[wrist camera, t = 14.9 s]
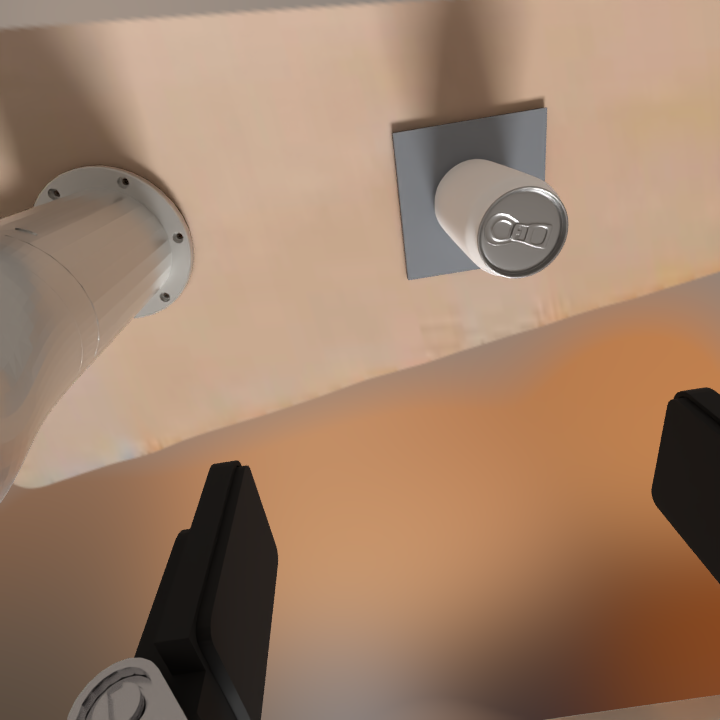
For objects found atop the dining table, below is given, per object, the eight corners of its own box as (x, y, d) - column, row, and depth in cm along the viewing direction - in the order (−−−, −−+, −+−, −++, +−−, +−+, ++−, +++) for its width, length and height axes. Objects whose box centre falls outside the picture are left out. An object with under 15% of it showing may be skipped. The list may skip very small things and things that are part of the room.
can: (442, 151, 38) (486, 170, 27) (520, 164, 39) (591, 187, 28) (425, 233, 41) (458, 278, 30) (497, 243, 42) (554, 291, 31)
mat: (407, 278, 43) (408, 280, 43) (392, 133, 38) (393, 133, 37) (539, 256, 43) (542, 258, 43) (544, 107, 38) (547, 107, 37)
